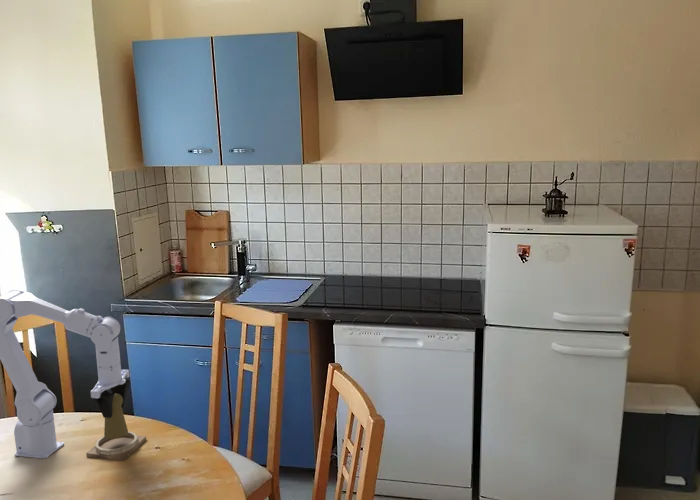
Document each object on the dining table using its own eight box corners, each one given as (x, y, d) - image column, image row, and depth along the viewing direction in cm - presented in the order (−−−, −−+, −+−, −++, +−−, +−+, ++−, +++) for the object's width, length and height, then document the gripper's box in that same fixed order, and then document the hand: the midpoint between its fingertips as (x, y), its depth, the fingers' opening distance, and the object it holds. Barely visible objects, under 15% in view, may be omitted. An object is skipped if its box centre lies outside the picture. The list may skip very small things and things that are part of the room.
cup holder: (86, 456, 157) (85, 449, 157) (110, 436, 168) (110, 429, 167) (124, 460, 155) (123, 452, 154) (146, 439, 165) (145, 432, 165)
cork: (121, 439, 157) (116, 400, 155) (99, 438, 158) (95, 400, 156) (132, 428, 163) (127, 390, 161) (111, 428, 164) (106, 390, 162)
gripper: (106, 375, 149) (111, 426, 151) (137, 355, 163) (141, 401, 165) (81, 374, 150) (86, 423, 153) (114, 353, 164) (118, 399, 167)
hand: (113, 412), depth 159 cm, fingers closed on cork, 5 cm apart
